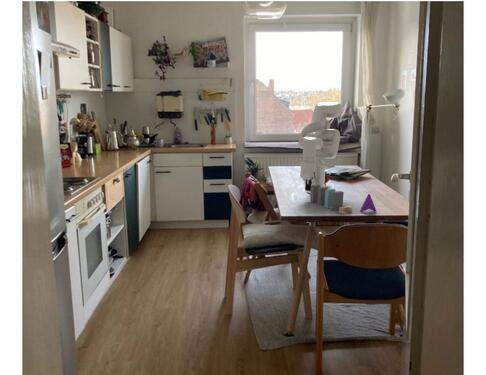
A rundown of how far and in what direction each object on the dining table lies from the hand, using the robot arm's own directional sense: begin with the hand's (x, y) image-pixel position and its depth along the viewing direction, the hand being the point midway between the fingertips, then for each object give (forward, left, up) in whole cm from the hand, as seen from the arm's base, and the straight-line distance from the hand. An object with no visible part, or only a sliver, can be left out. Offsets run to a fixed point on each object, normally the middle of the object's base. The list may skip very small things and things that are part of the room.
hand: (308, 190), depth 259 cm
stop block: (0, +32, -6) cm, 33 cm away
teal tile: (0, +20, -6) cm, 21 cm away
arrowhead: (-12, +37, -6) cm, 39 cm away
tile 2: (0, +13, -6) cm, 14 cm away
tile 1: (0, +7, -6) cm, 9 cm away
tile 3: (0, +26, -6) cm, 27 cm away
